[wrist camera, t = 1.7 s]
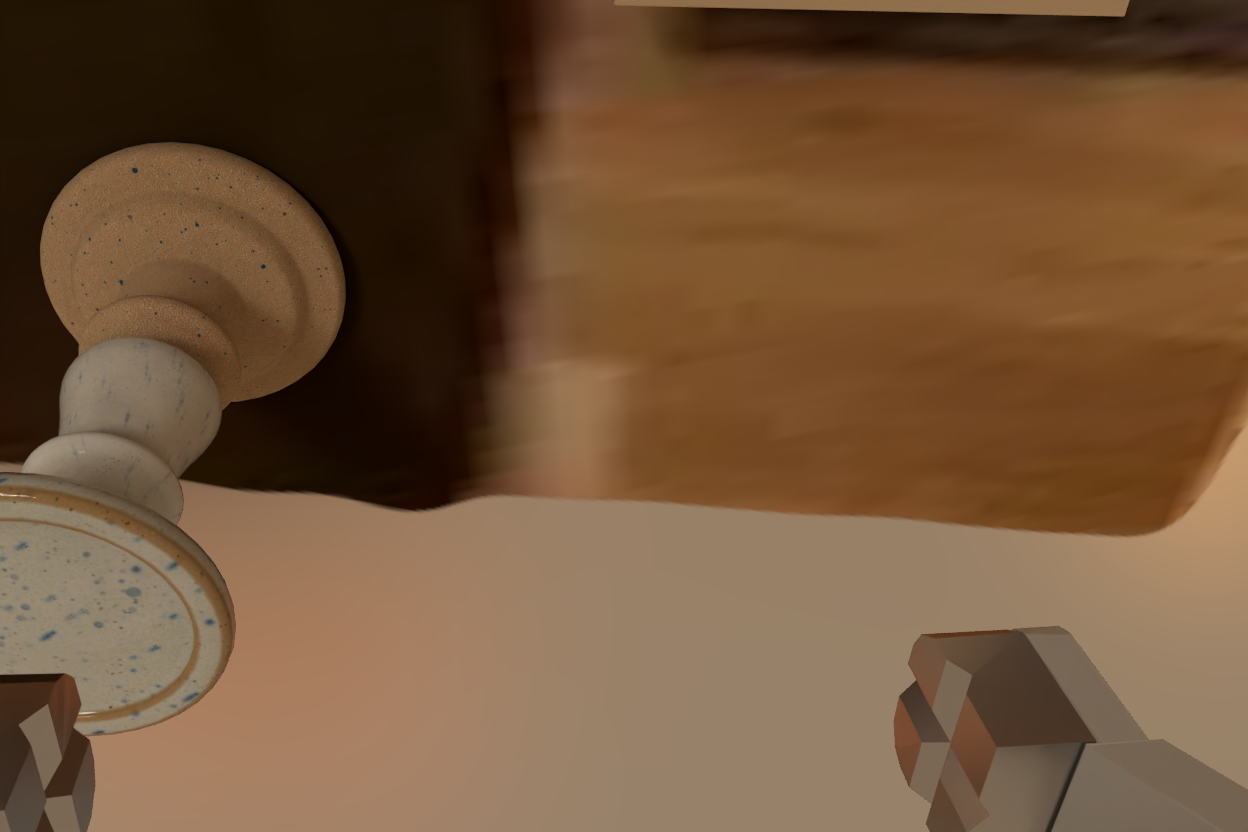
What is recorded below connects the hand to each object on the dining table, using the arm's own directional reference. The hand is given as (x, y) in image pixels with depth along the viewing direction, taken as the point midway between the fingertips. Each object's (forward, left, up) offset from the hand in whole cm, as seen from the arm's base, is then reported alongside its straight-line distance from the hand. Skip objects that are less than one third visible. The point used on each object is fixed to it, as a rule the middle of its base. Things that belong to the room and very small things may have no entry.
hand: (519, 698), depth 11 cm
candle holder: (+16, -14, -36) cm, 42 cm away
